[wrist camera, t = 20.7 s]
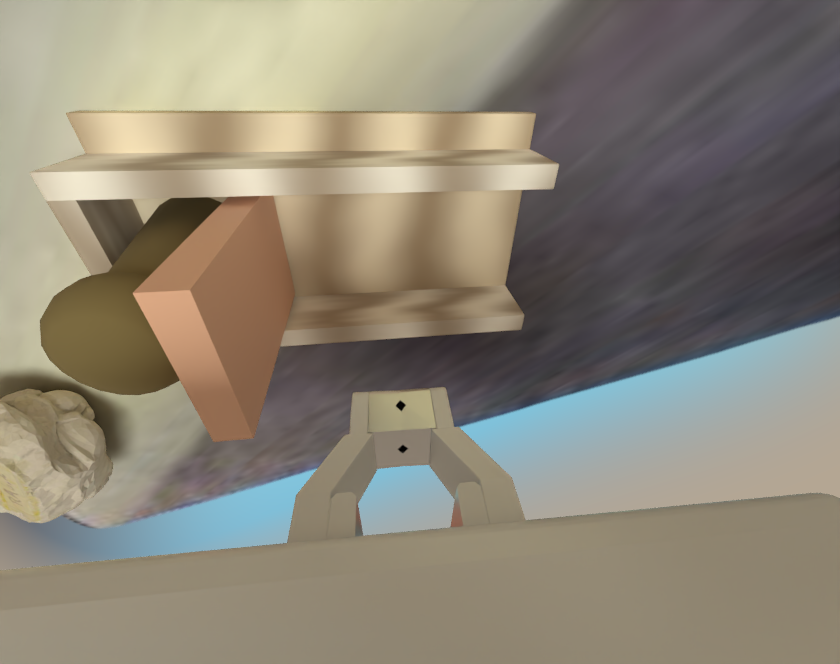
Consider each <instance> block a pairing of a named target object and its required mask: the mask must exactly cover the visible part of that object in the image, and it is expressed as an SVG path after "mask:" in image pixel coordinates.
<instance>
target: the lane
mask: <svg viewBox="0 0 840 664" xmlns="http://www.w3.org/2000/svg"><path fill="white" fill-rule="evenodd" d="M66 115H67V117H68V119H69V121H70V123H71V125H72V127H73V129H74V131H75V133H76V135H77V137H78V139H79V141H80V143H81V145H82V147H83V149H84V151H85V153H86V154H84V155H80V156H77V157H74V158H71V159H68V160H65V161H62V162H59V163H56V164H53V165H50V166H47V167H44V168H41V169H38V170H35V171H32V172H29V173H30V175H31V177H32V178H33V180H34V182H35V183H36V185H37V186H38V188H39V190H40V191H41V193H42V195H43V196H44V198H45V200H46V201H47V203H48V205H49V206H50V208H51V210H52V211H53V213H54V215H55V216H56V218H57V219H58V221H59V223H60V224H61V226H62V228H63V229H64V231H65V233H66V234H67V236H68V238H69V239H70V241H71V243H72V244H73V246H74V248H75V249H76V251H77V253H78V254H79V256H80V257H81V259H82V261H83V262H84V264H85V266H86V267H87V269H88V271H89V272H90V274H91V276H92V275H96V274H101V273H107V272H108V271H109V270H110V269H111V267H112V266H113V265H114V263H115V262H116V261H117V260H118V258H119V257H120V256H121V254H122V253H123V252H124V250H125V249H126V248H127V247H128V245H129V244H130V243H131V241H132V240H133V239H134V238H135V236H136V235H137V234H138V232H139V231H140V230H141V228H142V227H143V226H144V225H145V223H146V222H147V221H148V219H149V218H150V217H151V215H152V214H153V213H154V212H155V210H156V209H157V208H158V206H159V205H161V204H162V203H164V202H165V201H167V200H169V199H170V198H193V197H209V198H212V199H214V200H217V201H219V202H221V203H223V202H224V201H225V200H226V199H227V198H228V197H236V196H273V198H274V202H275V206H276V211H277V215H278V220H279V224H280V228H281V233H282V237H283V242H284V246H285V250H286V255H287V259H288V263H289V268H290V272H291V277H292V281H293V285H294V290H295V296H294V299H293V303H292V306H291V310H290V313H289V317H288V320H287V324H286V327H285V331H284V334H283V338H282V341H281V345H280V346H295V345H309V344H323V343H338V342H352V341H366V340H381V339H395V338H409V337H423V336H438V335H452V334H466V333H481V332H495V331H509V330H521V328H522V324H523V320H524V313H523V312H522V310H521V309H520V307H519V306H518V304H517V303H516V301H515V300H514V298H513V297H512V295H511V293H510V292H509V290H508V289H507V287H506V286H505V283H506V278H507V272H508V266H509V261H510V255H511V250H512V244H513V239H514V233H515V227H516V222H517V216H518V211H519V205H520V200H521V194H522V190H532V189H554V185H555V181H556V176H557V172H558V168H559V164H558V163H556V162H554V161H552V160H550V159H548V158H546V157H544V156H542V155H540V154H538V153H536V152H534V151H532V150H530V144H531V138H532V133H533V127H534V122H535V116H536V114H535V113H532V112H383V111H75V112H69V113H66Z"/></svg>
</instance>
